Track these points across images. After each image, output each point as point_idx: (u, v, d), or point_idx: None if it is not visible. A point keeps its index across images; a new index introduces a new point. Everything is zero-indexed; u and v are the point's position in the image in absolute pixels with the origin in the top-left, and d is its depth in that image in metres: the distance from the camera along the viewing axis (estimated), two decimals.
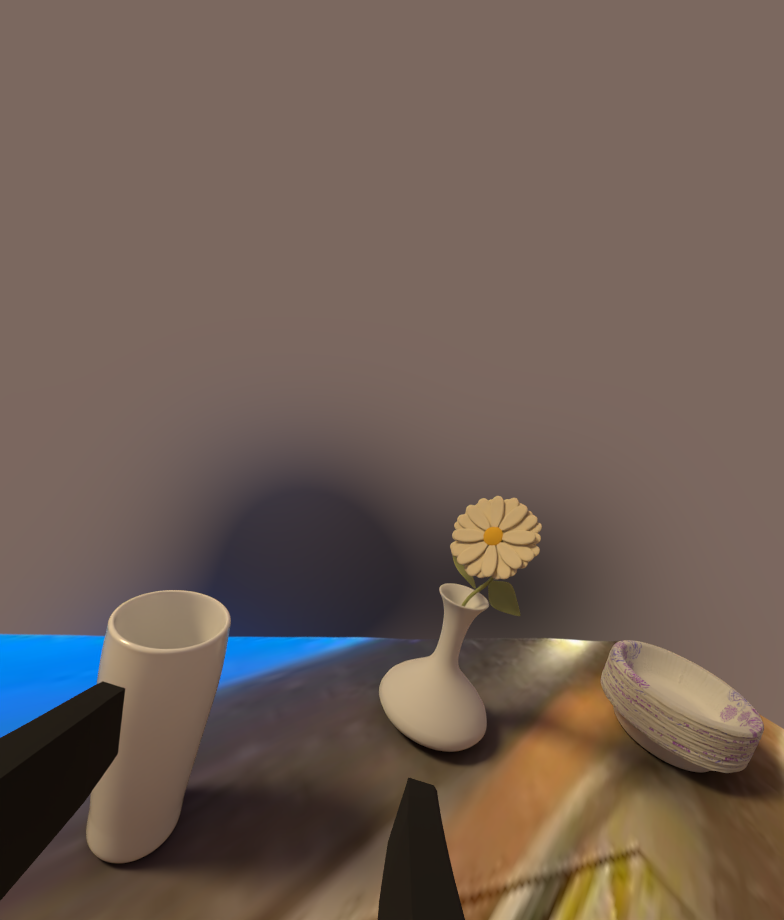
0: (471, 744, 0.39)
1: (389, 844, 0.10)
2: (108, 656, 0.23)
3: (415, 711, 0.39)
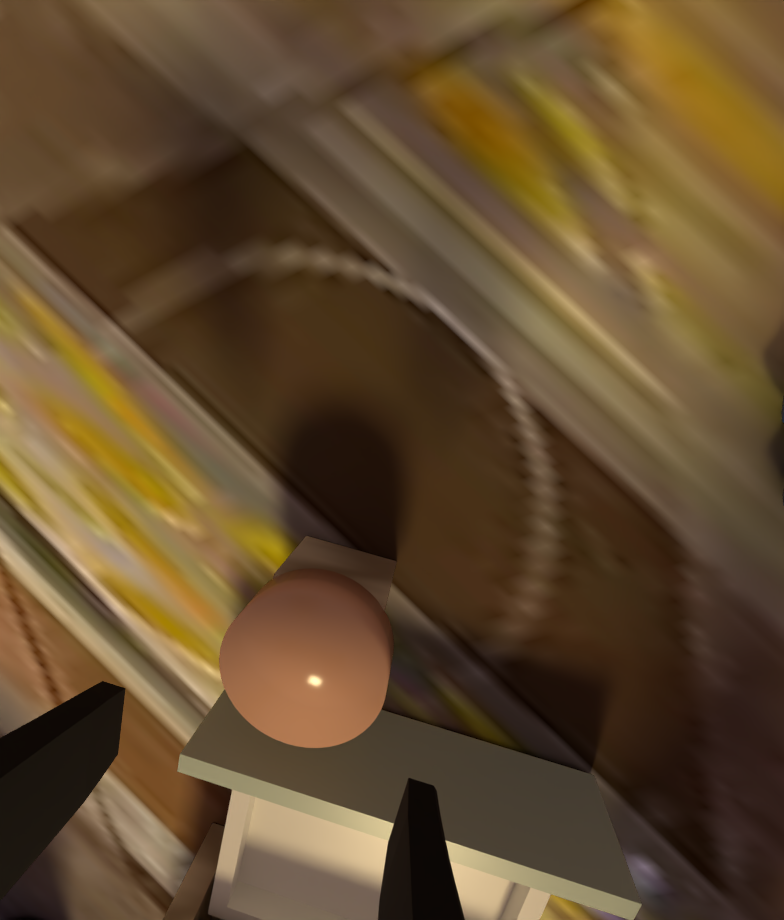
0: None
1: (389, 844, 0.10)
2: None
3: None
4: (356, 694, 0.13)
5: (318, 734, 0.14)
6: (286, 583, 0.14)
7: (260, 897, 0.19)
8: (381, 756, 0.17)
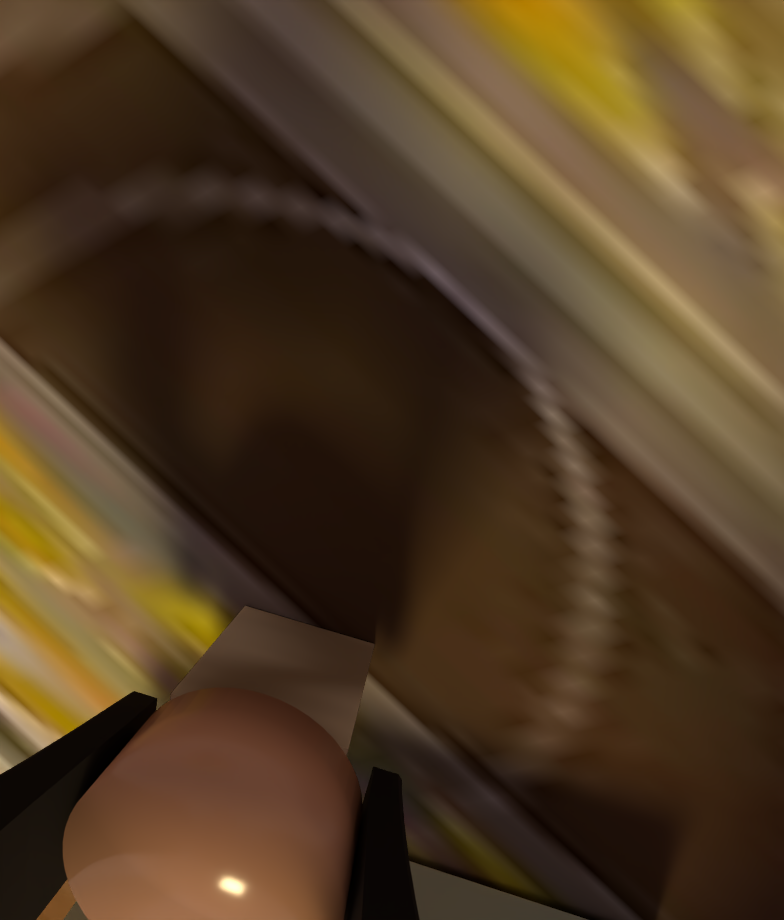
0: None
1: None
2: None
3: None
4: None
5: None
6: (177, 725, 0.08)
7: None
8: None
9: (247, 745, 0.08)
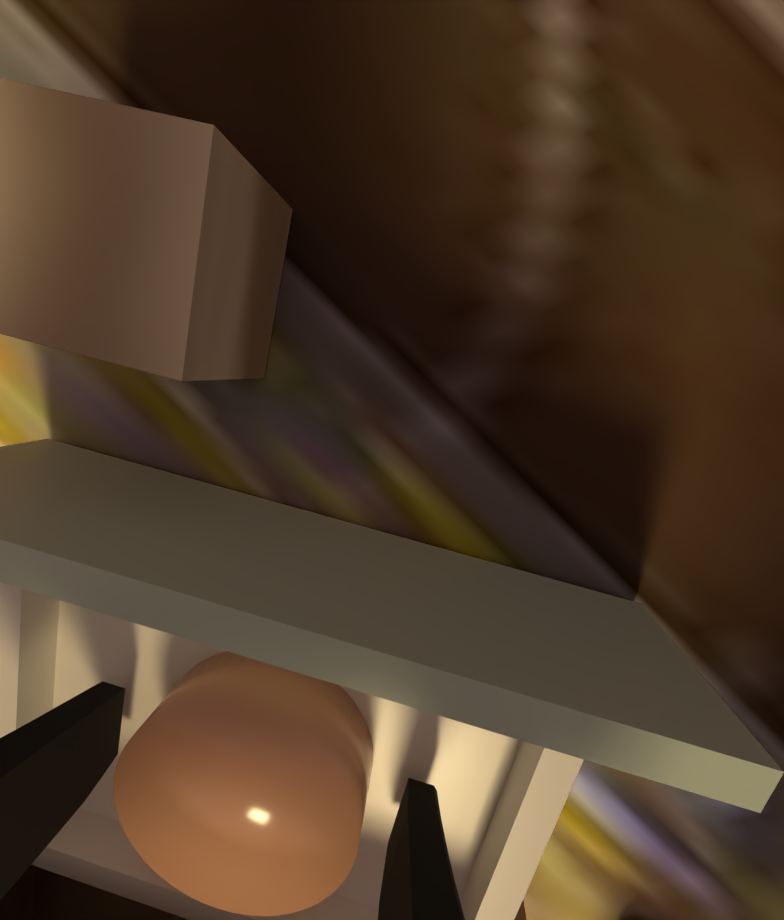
0: None
1: (389, 844, 0.10)
2: None
3: None
4: (314, 845, 0.09)
5: (263, 898, 0.09)
6: (209, 678, 0.09)
7: (78, 822, 0.11)
8: (254, 539, 0.09)
9: (271, 691, 0.09)
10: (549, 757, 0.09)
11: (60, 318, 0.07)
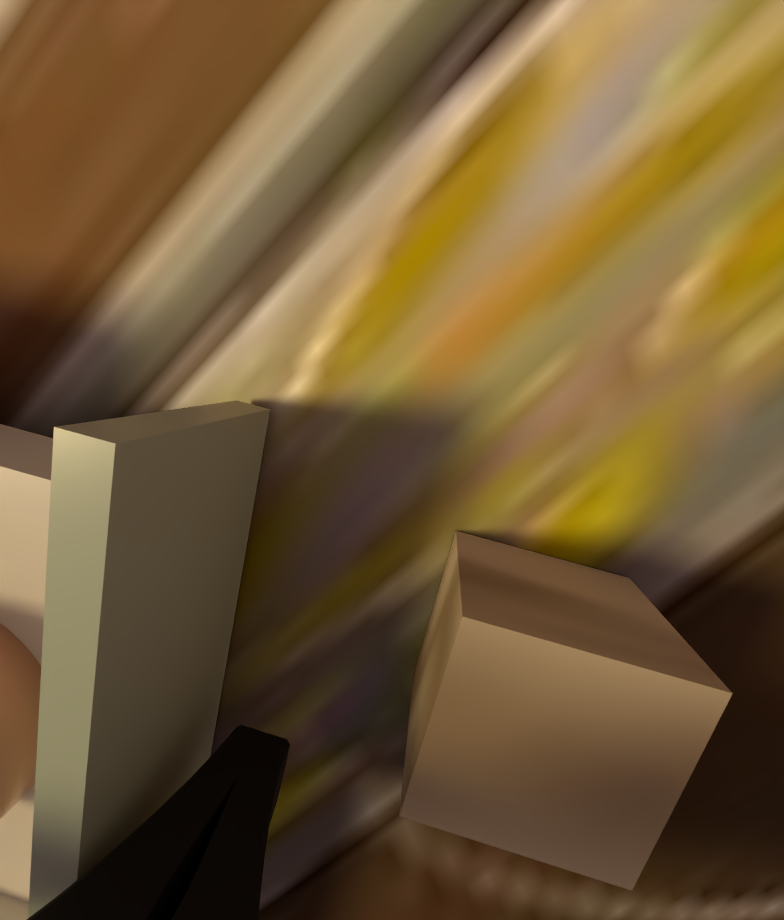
0: None
1: None
2: None
3: None
4: None
5: None
6: (6, 715, 0.08)
7: None
8: (170, 746, 0.09)
9: (10, 785, 0.09)
10: None
11: (467, 714, 0.07)
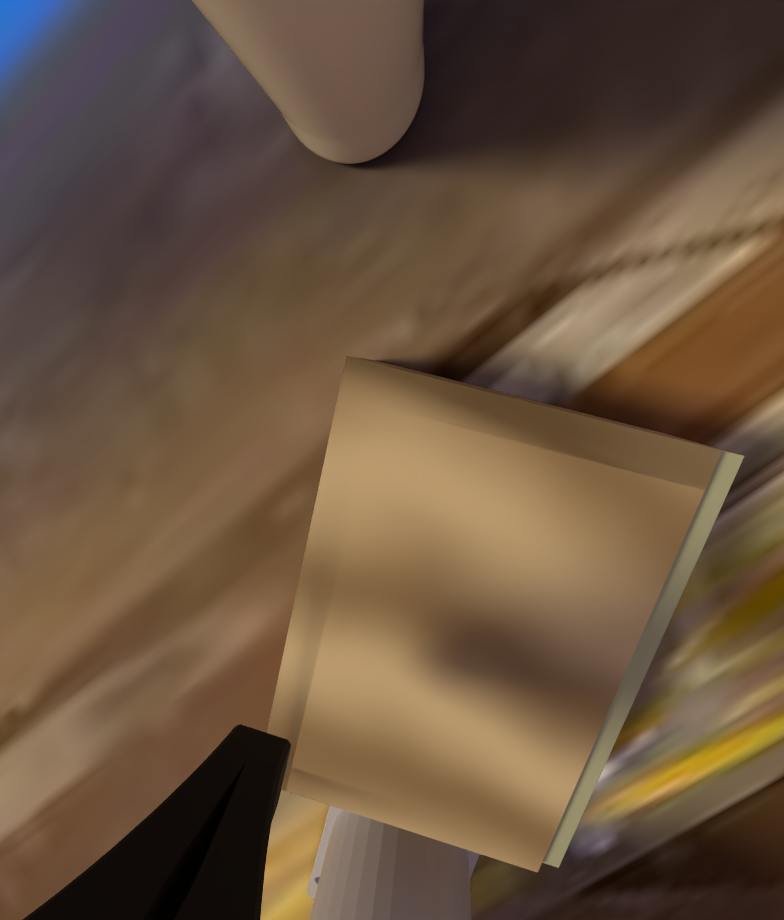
0: None
1: None
2: None
3: None
4: None
5: None
6: None
7: None
8: None
9: None
10: None
11: None
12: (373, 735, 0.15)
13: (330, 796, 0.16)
